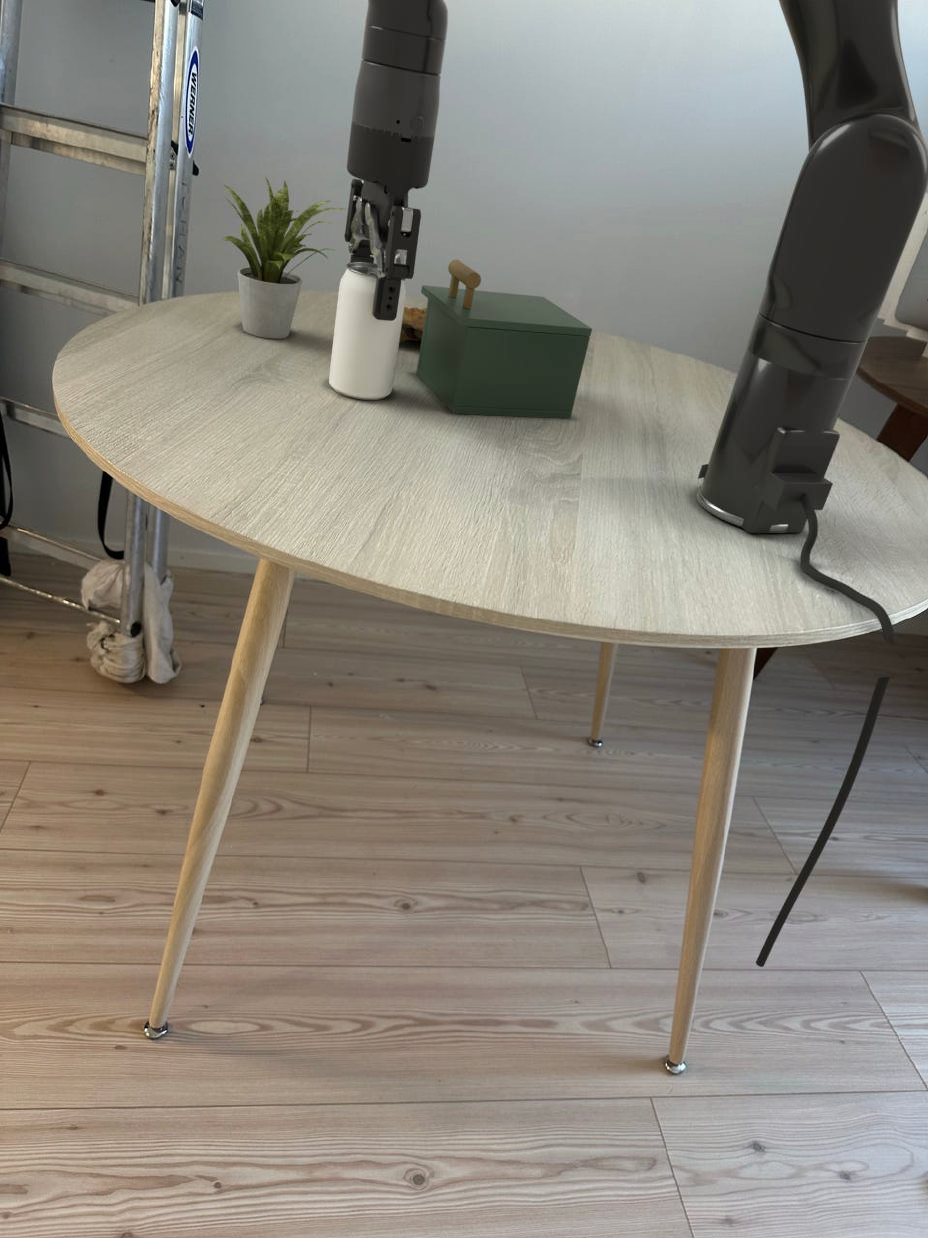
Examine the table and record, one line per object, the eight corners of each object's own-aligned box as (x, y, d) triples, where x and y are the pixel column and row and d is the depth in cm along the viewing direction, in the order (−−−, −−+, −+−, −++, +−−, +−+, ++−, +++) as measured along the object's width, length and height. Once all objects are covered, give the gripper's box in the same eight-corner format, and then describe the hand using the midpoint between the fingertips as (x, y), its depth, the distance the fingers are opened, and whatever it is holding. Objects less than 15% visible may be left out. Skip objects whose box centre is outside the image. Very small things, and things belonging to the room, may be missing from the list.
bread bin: (453, 413, 100) (469, 327, 95) (415, 374, 109) (428, 293, 104) (570, 418, 105) (590, 336, 101) (525, 380, 114) (542, 304, 110)
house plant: (356, 356, 110) (375, 201, 102) (235, 354, 103) (246, 188, 95) (307, 317, 120) (322, 174, 112) (195, 313, 113) (201, 159, 105)
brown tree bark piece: (407, 363, 113) (507, 364, 122) (414, 328, 111) (516, 332, 120) (357, 326, 120) (456, 330, 129) (364, 292, 118) (463, 299, 127)
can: (396, 387, 104) (413, 270, 98) (385, 405, 98) (403, 283, 92) (335, 374, 104) (349, 256, 98) (321, 392, 98) (335, 268, 92)
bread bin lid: (460, 326, 95) (469, 279, 93) (420, 292, 104) (427, 249, 102) (590, 336, 101) (601, 292, 99) (542, 303, 110) (550, 263, 107)
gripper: (332, 106, 92) (314, 283, 100) (378, 129, 81) (354, 325, 90) (407, 119, 95) (384, 289, 103) (461, 143, 84) (430, 331, 93)
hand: (370, 306), depth 97 cm, fingers open, 8 cm apart
